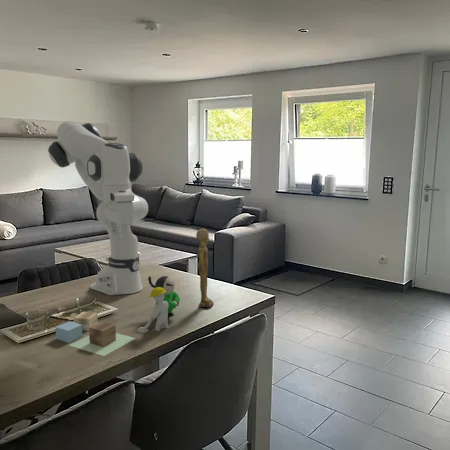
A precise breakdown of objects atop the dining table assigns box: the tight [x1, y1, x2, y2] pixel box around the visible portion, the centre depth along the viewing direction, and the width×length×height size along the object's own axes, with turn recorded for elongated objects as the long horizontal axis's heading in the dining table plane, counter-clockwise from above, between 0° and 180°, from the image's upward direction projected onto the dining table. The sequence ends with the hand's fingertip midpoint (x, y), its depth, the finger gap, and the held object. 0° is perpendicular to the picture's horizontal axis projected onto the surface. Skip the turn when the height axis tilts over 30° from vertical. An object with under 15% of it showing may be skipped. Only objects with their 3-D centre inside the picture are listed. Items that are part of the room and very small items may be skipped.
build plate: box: [68, 332, 136, 357], centre depth 140 cm, size 14×14×1 cm
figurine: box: [136, 287, 170, 334], centre depth 149 cm, size 10×9×15 cm
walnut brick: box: [88, 321, 117, 347], centre depth 139 cm, size 6×6×5 cm
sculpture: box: [195, 228, 215, 308], centre depth 172 cm, size 7×6×30 cm
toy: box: [147, 275, 181, 317], centre depth 162 cm, size 10×11×15 cm
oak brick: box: [73, 311, 99, 332], centre depth 151 cm, size 6×6×5 cm
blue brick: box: [55, 320, 83, 344], centre depth 142 cm, size 6×6×5 cm
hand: (118, 235), depth 151 cm, fingers open, 8 cm apart
